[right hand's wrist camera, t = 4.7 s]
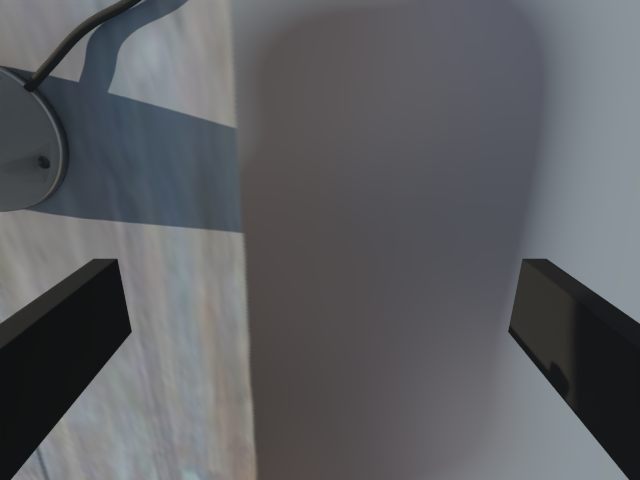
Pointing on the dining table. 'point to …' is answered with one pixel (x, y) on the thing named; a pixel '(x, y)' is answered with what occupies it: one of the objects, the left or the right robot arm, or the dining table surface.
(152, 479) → the dining table surface
